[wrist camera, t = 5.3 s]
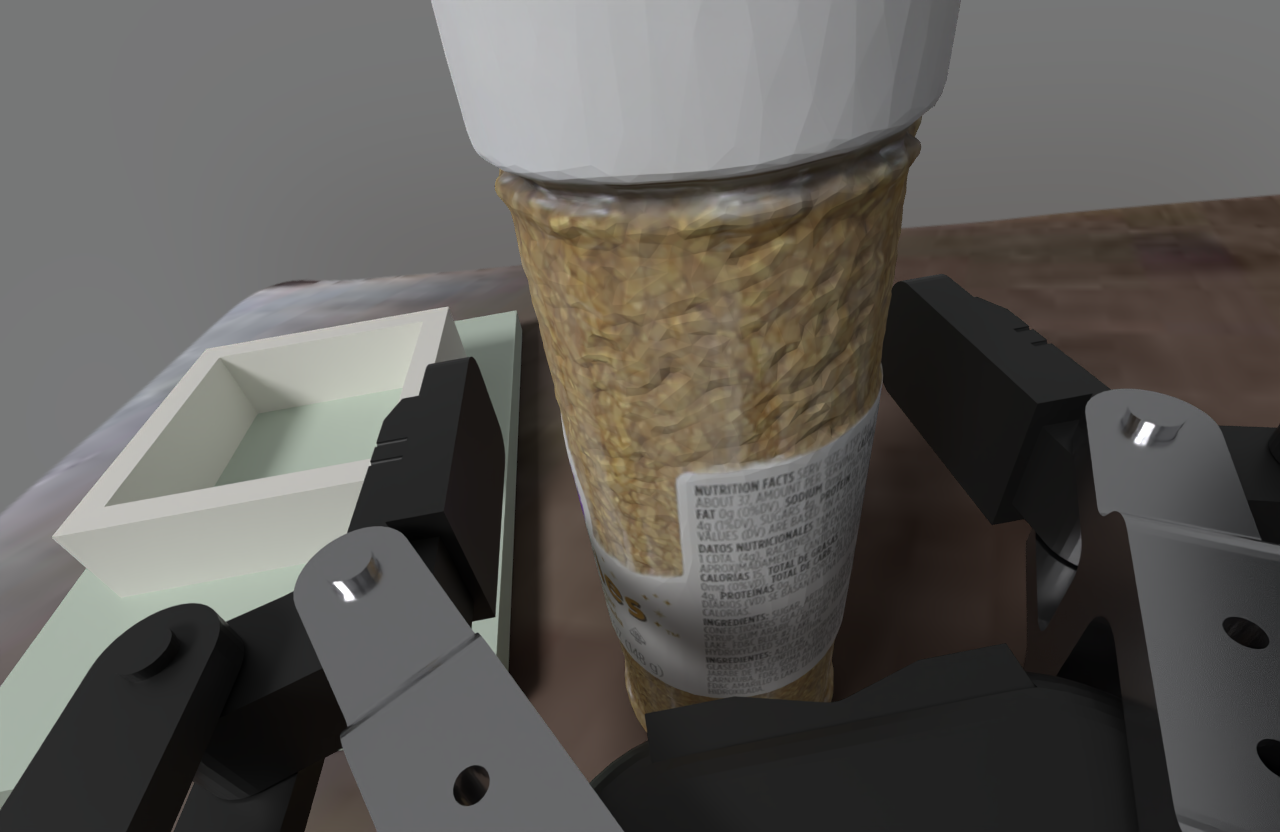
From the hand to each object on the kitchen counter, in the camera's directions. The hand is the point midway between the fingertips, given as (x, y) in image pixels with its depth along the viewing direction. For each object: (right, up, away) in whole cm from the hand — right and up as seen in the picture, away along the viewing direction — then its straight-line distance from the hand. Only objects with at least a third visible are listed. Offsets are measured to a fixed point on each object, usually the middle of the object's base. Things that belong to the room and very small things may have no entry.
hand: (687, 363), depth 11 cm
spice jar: (+1, -7, +3) cm, 8 cm away
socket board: (-11, -3, +9) cm, 15 cm away
